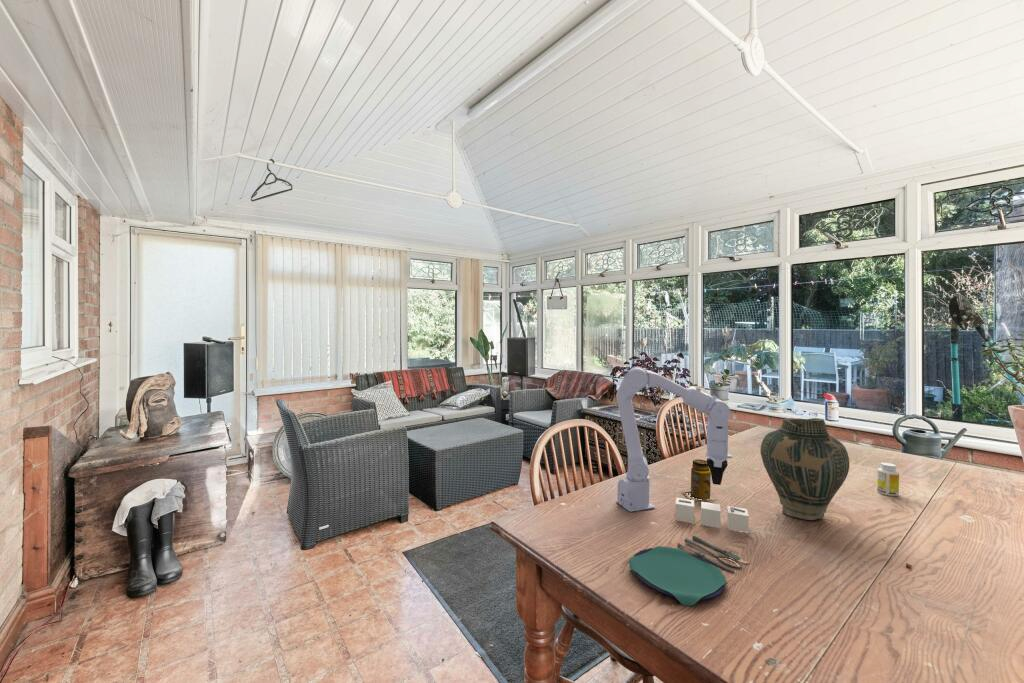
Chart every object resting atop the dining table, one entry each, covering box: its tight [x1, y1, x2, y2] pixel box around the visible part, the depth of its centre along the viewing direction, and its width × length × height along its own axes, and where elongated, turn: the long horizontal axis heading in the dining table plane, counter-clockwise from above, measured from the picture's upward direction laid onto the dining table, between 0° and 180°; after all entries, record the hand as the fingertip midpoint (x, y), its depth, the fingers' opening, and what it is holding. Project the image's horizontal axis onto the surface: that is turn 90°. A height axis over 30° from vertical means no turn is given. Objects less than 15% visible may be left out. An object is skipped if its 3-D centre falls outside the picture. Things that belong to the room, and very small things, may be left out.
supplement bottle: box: [876, 462, 900, 497], centre depth 143 cm, size 6×6×10 cm
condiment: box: [680, 459, 717, 502], centre depth 140 cm, size 7×8×12 cm
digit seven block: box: [726, 505, 750, 533], centre depth 118 cm, size 5×5×5 cm
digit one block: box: [674, 497, 695, 524], centre depth 124 cm, size 5×5×5 cm
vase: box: [759, 417, 850, 521], centre depth 126 cm, size 22×22×30 cm
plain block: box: [700, 501, 722, 529], centre depth 121 cm, size 5×5×5 cm
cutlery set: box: [628, 535, 743, 607], centre depth 97 cm, size 20×30×2 cm, turn 124°
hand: (716, 483), depth 126 cm, fingers closed
